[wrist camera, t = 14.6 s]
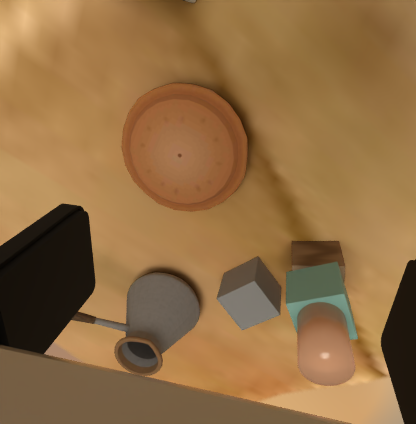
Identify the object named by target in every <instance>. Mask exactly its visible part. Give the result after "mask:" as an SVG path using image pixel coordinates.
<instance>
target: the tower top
mask: <svg viewBox="0 0 416 424" xmlns="http://www.w3.org/2000/svg"><path fill="white" fill-rule="evenodd" d="M315 302H326V303H330V304H333V305H335V306H337V307H338V308H339V309H341V311H342V312H343V313H344V315H345V317H346V321H347V326H348V331H349V337H350V340H352V339H358V336H357V332H356V328H355V323H354V319H353V314H352V310H351V306H350V302H349V298H348V295H347V292H346V288H345V285H344V282H343V279H342V275H341V272H340V269H339V265H338V262H332V263H328V264H323V265H318V266H313V267H308V268H304V269H299V270H294V271H289V272H286V306H287V308H288V311H289V313H290V316H291V319H292V321H293V324H294V327H295V329H296V332H297V316H298V313H299V312H300V310H301V309H302V308H303V307H305V306H306V305H308V304H311V303H315Z"/></svg>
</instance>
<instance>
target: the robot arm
mask: <svg viewBox="0 0 416 424" xmlns="http://www.w3.org/2000/svg"><path fill="white" fill-rule="evenodd" d="M94 288H95V273H94V263H93V253H92V244H91V234H90V224H89V216H88V213H87V212H86V211H84V209H83V208H82V207H81V206H77V205H70V204H61V205H59V206H58V207H56V208H55V209H53V210H52V211H50V212H49V213H48V214H46V215H45V216H43V217H42V218H40V219H39V220H37V221H36V222H35V223H33V224H32V225H30V226H29V227H27V228H26V229H24V230H23V231H21V232H20V233H19V234H17V235H16V236H14V237H13V238H11V239H10V240H8V241H7V242H6V243H4V244H3V245H1V246H0V424H351V423H346V422H342V421H338V420H333V419H329V418H325V417H320V416H316V415H312V414H308V413H302V412H299V411H294V410H290V409H286V408H282V407H277V406H273V405H268V404H264V403H260V402H256V401H251V400H247V399H242V398H238V397H234V396H229V395H225V394H220V393H216V392H211V391H207V390H203V389H198V388H194V387H189V386H185V385H181V384H176V383H172V382H167V381H163V380H158V379H154V378H149V377H145V376H140V375H136V374H131V373H127V372H122V371H118V370H113V369H109V368H104V367H100V366H95V365H91V364H86V363H81V362H77V361H72V360H68V359H63V358H58V357H53V356H49V355H45V354H44V353H45V352H46V350H47V349H48V348H49V347H50V345H51V344H52V343H53V342H54V340H55V339H56V338H57V337H58V335H59V334H60V333H61V332H62V330H63V329H64V328H65V327H66V325H67V324H68V323H69V322H70V320H71V319H72V318H73V317H74V315H75V314H76V313H77V312H78V310H79V309H80V308H81V307H82V305H83V304H84V303H85V302H86V300H87V299H88V298H89V297H90V295H91V294H92V293H93V291H94ZM381 347H382V351H383V354H384V358H385V361H386V364H387V368H388V371H389V374H390V378H391V381H392V384H393V387H394V391H395V394H396V398H397V401H398V404H399V408H400V411H401V414H402V418H403V421H404V424H416V260H410V261H409V262H408V264H407V266H406V269H405V272H404V274H403V277H402V280H401V283H400V286H399V288H398V291H397V294H396V297H395V300H394V302H393V305H392V308H391V311H390V314H389V316H388V319H387V322H386V325H385V328H384V330H383V333H382V337H381Z"/></svg>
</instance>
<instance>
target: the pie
mask: <svg viewBox="0 0 416 424" xmlns="http://www.w3.org/2000/svg"><path fill="white" fill-rule="evenodd" d="M122 151H123V156H124V161H125V165H126V167H127V169H128V171H129V173H130V175H131V177H132V179H133V181H134V182H135V183H136V184H137V185H138V186H139V187H140V188H141V189H142V190H143V191H144V192H145V193H146V194H147V195H148V196H149V197H151V198H152V199H153V200H155V201H156V202H157V203H159V204H161V205H163V206H166V207H169V208H171V209H174V210H182V211H199V210H207V209H209V208H212V207H214V206H216V205H218V204H220V203H222V202H223V201H224V200H226V199H227V198H228V197H229V196H230V195H231V194H233V193H234V192H235V191H236V190H237V188H238V186H239V185H240V183H241V181H242V180H243V178H244V177H245V171H246V164H247V136H246V133H245V131H244V128H243V125H242V123H241V120H240V118H239V117H238V116H237V114H236V113H235V111H234V110H233V109H232V107H231V106H230V104H229V103H228V102H227V101H225V100H224V99H223V98H221V97H220V96H219V95H218V94H216V93H215V92H214V91H212V90H210V89H207V88H204V87H201V86H198V85H195V84H184V83H171V84H168V85H165V86H162V87H158V88H155V89H153V90H152V91H150V92H148V93H146V94H145V95H143V96H141V97H140V98H139V99H138V100H137V101H136V103H135V104H134V106H133V107H132V109H131V110H130V111H129V113H128V116H127V119H126V122H125V125H124V128H123V137H122Z"/></svg>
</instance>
